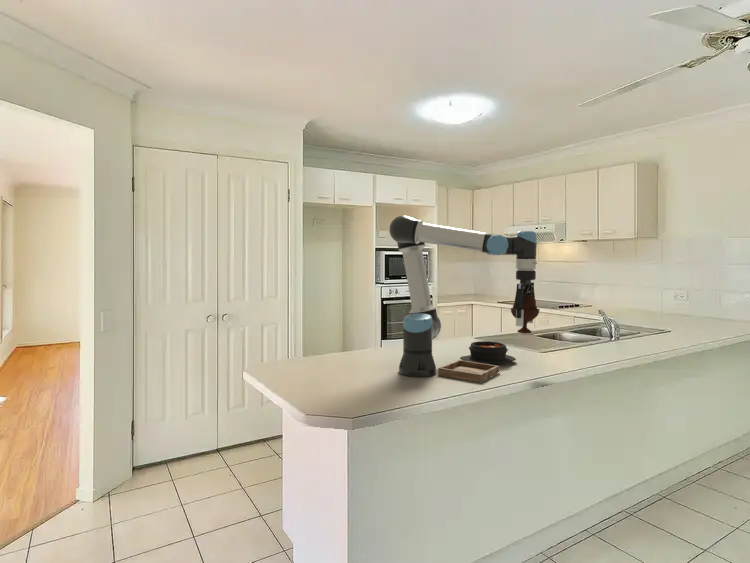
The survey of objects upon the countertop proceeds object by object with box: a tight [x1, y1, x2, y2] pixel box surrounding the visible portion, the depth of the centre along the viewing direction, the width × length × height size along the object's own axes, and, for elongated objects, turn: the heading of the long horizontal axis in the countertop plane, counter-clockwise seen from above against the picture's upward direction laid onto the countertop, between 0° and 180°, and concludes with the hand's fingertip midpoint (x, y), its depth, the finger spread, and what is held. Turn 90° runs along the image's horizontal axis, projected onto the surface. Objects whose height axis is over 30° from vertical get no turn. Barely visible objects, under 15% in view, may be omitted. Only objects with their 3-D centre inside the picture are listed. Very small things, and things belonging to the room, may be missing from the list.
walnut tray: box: [437, 359, 500, 383], centre depth 189 cm, size 18×18×3 cm
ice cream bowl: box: [510, 295, 541, 334], centre depth 190 cm, size 11×11×15 cm
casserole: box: [459, 340, 516, 366], centre depth 210 cm, size 25×19×8 cm
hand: (524, 324), depth 190 cm, fingers closed on ice cream bowl, 11 cm apart
